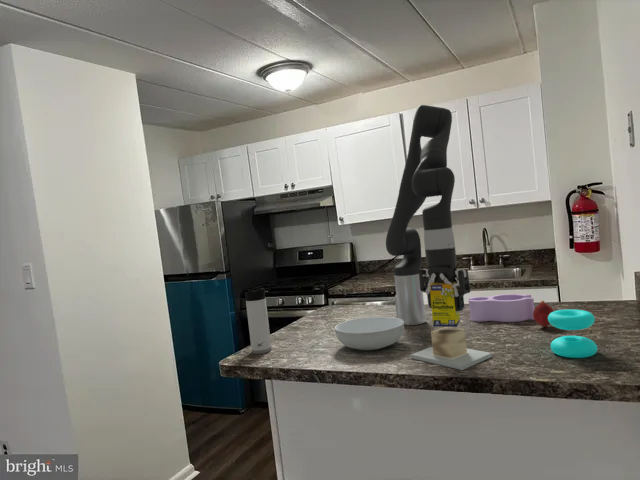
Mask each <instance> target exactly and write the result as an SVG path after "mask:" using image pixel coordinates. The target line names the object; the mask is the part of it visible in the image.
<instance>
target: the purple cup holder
mask: <svg viewBox="0 0 640 480" xmlns="http://www.w3.org/2000/svg"><path fill="white" fill-rule="evenodd" d="M468 308H469V318H470V321H472V322H488V321H489V322H491V321H493V322H500V323H501V322H502V323H503V322H504V323H514V322H522V321H527V320H535V319H534V317H533V311H534V309H535V308H536V307H535V299H534V297H532V294H529V293H528V294H520V293H505V294H504V293H503V294H496V295H490V296H488V295H487V296H472V297H469V298H468Z"/></svg>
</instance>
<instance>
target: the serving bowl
mask: <svg viewBox="0 0 640 480" xmlns="http://www.w3.org/2000/svg"><path fill="white" fill-rule="evenodd" d="M404 328H405V325H404V321H403V320H402V319H399V318H397V317H393V316H369V317H368V316H367V317H360V318H355V319H349V320H348V319H347V320H346V321H341V322H340V323H338V324H336V325H335V326H334V332H335V333H334V334H335V335H336V338H337V340H338V341H339V342H340V343H341V344H342V345H344V346H346V347H347V348H350V349H354V350H360V351H375V350H376V351H377V350H380V349H381V350H382V349H384V348H385V347H388V346H392V345H393V344H395V343H396V342H398V340H400V339H401V338H402V335H403V334H404Z"/></svg>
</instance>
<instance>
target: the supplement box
mask: <svg viewBox="0 0 640 480" xmlns="http://www.w3.org/2000/svg"><path fill="white" fill-rule="evenodd" d="M453 284H455V282H453V283H452V284H451V285H452V286H453ZM451 285H450V284H445V283H431V284H430V295H431V307H432V308H431V317H432V326H433V327H435V328H436V327H440V328H443V327H453V328H458V325H459V323H460V322H461V317H460V316H461V315H460V311H456V309H455V299H454V297H455V295H454V289H453V287H451Z"/></svg>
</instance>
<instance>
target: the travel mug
mask: <svg viewBox="0 0 640 480" xmlns="http://www.w3.org/2000/svg"><path fill="white" fill-rule="evenodd" d="M265 292H266V290H265V287H262V288H258V289H254V290H251V291H249V292H244V296H245V306H246V315H247V322H248V331H249V340H250V347H251V349H250V350H251V353H252V354H254V355H261V354H266V353H270V352H271V351H272V340H271V333H270V323H269V316H268V307H267V299H266V293H265Z"/></svg>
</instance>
